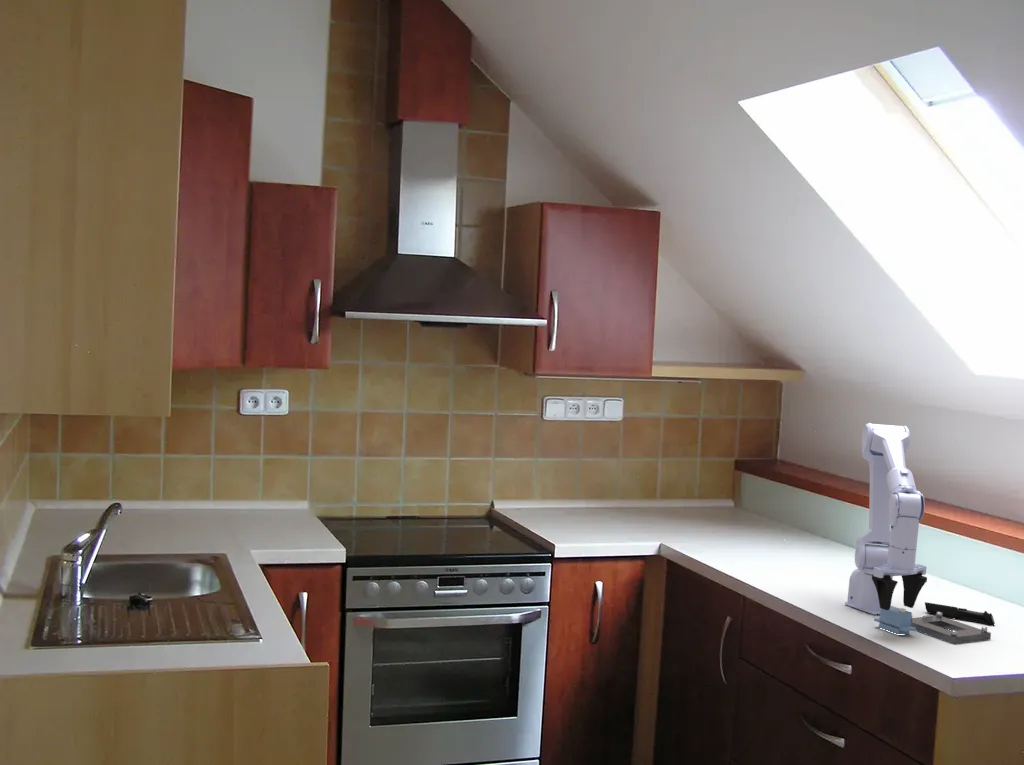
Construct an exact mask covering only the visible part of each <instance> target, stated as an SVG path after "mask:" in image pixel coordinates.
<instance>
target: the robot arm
mask: <svg viewBox="0 0 1024 765" xmlns="http://www.w3.org/2000/svg"><path fill="white" fill-rule="evenodd" d="M910 432H911V431H910V429H909V428H908V426H907V425H893V424H892V425H891V424H878V423H872V422H867V423H866V424H865V426H864V427H863V430H862V436H861V439H862V440H861V454H862V459H864V460H865V461H867V462H868V467H869V498H868V499H869V500H868V501H869V503H868V504H869V508H868V515H869V516H868V531H866V532H864V533H862V534H861V535H860V536H859V537H858V538H857V540H856V546H855V552H854V563H855V566H856V568H855V569H854V570H852V572H851V574H850V577H849V578H848V579H849V580H848V588H847V589H848V591H847V598H846V599H847V601H846V602H844V605H845V606H848V607H852V608H854V609H857V610H860V611H862V612H865V613H868V614H872V615H874V616H876V615H877V614H878V615H880V612H881V609H884V610H889V609H890V606H892V599H893V594H894V591H895V588H896V587H897V585H898V581H897V580H894V579H893V577H901V579H902V580H901V581H902V586H903V598H902V599H903V600H902V601H903V606H904V607H907V608H910V609H914V606H915V603H916V601H917V598H918V596H919V594H920V592H921V591H922V588H923V587H924V586H925V584H926V583H927V582H928V581H927V580H928V577H927V576H926V574H927V565H925V564H924V565H923V564H920V563H919V564H918V563H917V564H916V556H917V548H918V547H917V545H918V535H919V527H920V521H921V520H923V518H924V514H925V510H926V509H925V508H926V506H925V501H926V500H925V496H924V495H923V493H921V491H920V490H917V487H916V484H915V483H916V482H915V478H914V475H913V472H912V471H911V470H910V469H909V468H907V465H906V458H905V454H906V453H907V450H908V449H909V446H910V441H911V433H910ZM878 615H877V616H878Z"/></svg>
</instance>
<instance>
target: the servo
mask: <svg viewBox="0 0 1024 765" xmlns="http://www.w3.org/2000/svg"><path fill="white" fill-rule="evenodd" d="M911 615H912V616H913V613H912V612H911V611H909V610H906V609H905V608H902V607H901V608H900V607H896V606H893V605H891V606H890V609H889V610H884V609H881V612H880V614H879V617H875V618H873V619H874V620H873V621H875V622H878V623H879V624H878V629H879V628H882V629H885V630H888V631H890V632H893V633H896V634H909V633H910V632H912V631H913V632H914V631H916V628H914V627H911V626H910V625H911Z"/></svg>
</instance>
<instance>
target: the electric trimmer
mask: <svg viewBox="0 0 1024 765" xmlns="http://www.w3.org/2000/svg"><path fill="white" fill-rule="evenodd" d="M924 606H925V610H926V612H927V613H930V614H933V615H937V612H942V617H945V618H947V617H949V618H948V619H951V618H955V619H954V620H963V619H964V620H963V621H968V620H969V622H973V621H974V622H975V623H978V622H979V624H984V625H985V624H986V625H988V626H989V625H993V627H995V625H996V622H995V619H994V615H993V614H992V613H991V612H990V613H989V612H988V611H987V610H984V612H979V611H974V610H968V609H967V608H962V607H961V608H960V607H958V606H951V605H945V604H939V603H932V602H924ZM994 624H995V625H994Z"/></svg>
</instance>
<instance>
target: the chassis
mask: <svg viewBox="0 0 1024 765" xmlns="http://www.w3.org/2000/svg"><path fill="white" fill-rule="evenodd" d="M910 626H911V627H914V628H916V630H918V631H917V632H919V631H921V632H923V633H922V634H924V633H926V634H925V635H927V634H928V635H927V636H930V635H931V636H930V637H933V638H935V637H936V639H939V640H941V639H942V641H944V640H945V641H944V642H947V643H949V642H950V644H953V645H957V643H959V644H964V642H967V643H973V641H974V642H981V641H980V640H982V641H989V640H988V639H990V640H991V635H992V632H990V631H988V627H986V626H981V628H978V627H975V626H972V625H969V624H966V623H962V622H960V621H957V620H955V619H951V618H947V617H944V616H942V612H937V614H935V615H930V614H927V615H926V614H925V615H922V616H919V617H918V616H917V617H913V614H912V615H911V625H910ZM941 627H943V628H941ZM944 628H946V629H944ZM947 629H949V630H947ZM916 630H915V631H916ZM950 630H951V631H950ZM921 632H920V633H921ZM971 641H972V642H971Z"/></svg>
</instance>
